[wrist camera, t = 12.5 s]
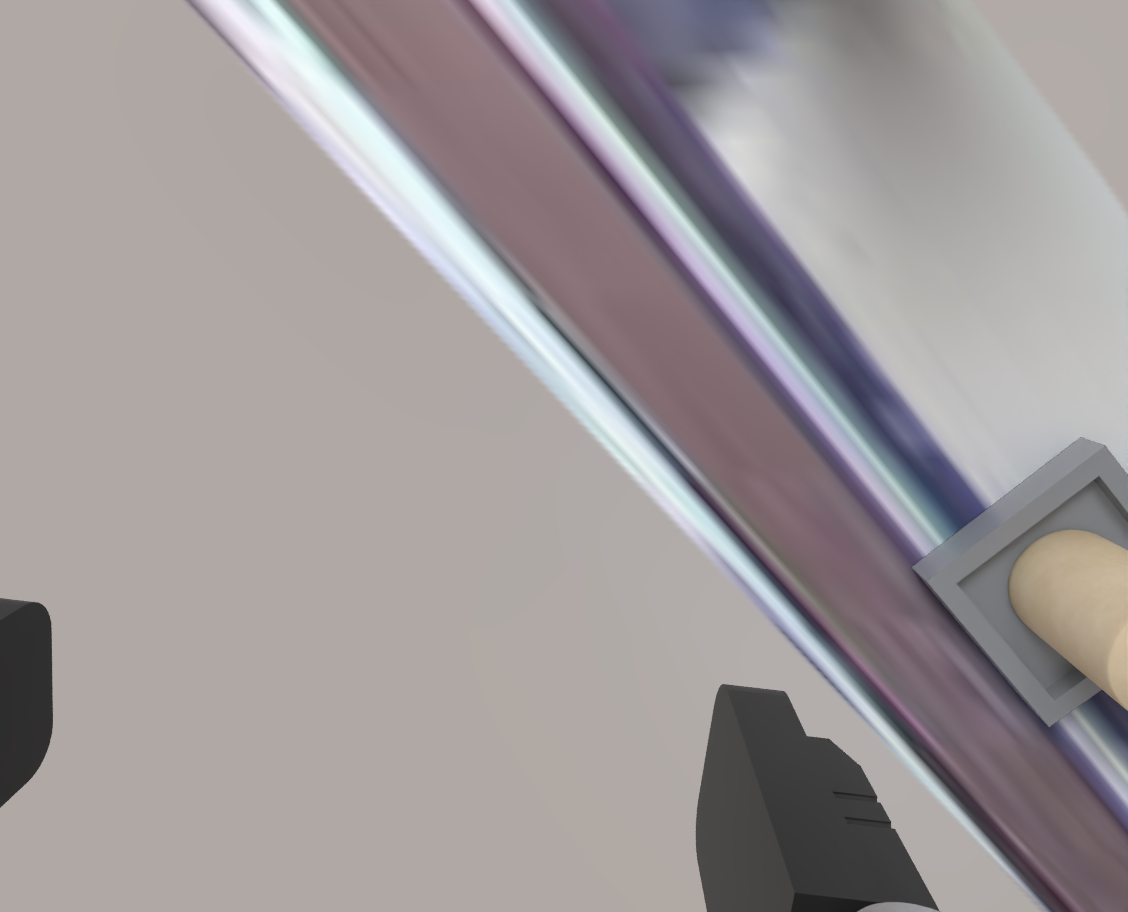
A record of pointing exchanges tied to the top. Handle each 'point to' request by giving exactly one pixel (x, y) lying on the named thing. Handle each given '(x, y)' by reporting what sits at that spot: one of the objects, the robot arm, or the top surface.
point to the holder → (992, 545)
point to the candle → (1077, 603)
